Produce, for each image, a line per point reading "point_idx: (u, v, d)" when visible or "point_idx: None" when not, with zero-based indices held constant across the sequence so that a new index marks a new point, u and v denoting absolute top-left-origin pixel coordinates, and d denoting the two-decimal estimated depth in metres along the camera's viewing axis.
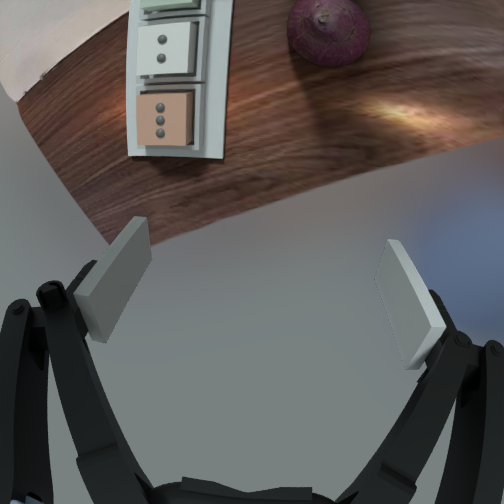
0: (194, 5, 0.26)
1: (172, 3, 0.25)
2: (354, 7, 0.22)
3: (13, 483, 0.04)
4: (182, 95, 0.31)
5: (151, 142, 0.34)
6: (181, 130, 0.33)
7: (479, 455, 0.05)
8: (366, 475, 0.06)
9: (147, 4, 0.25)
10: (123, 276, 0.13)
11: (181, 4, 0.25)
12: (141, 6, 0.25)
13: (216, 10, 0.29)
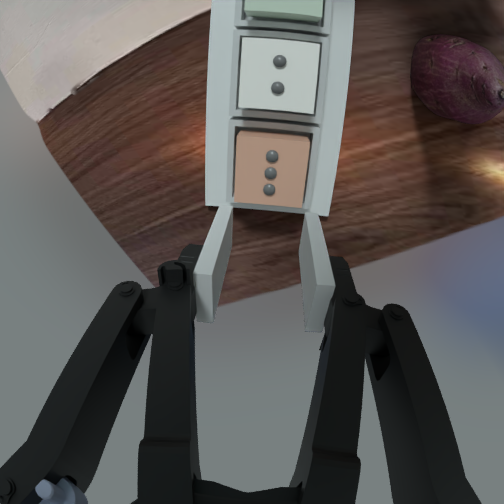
0: (317, 20, 0.20)
1: (293, 12, 0.19)
2: None
3: (53, 465, 0.05)
4: (304, 143, 0.25)
5: (255, 200, 0.29)
6: (298, 188, 0.28)
7: (417, 430, 0.07)
8: (303, 462, 0.07)
9: (255, 6, 0.19)
10: (223, 259, 0.15)
11: (303, 16, 0.20)
12: (246, 8, 0.19)
13: (333, 29, 0.23)
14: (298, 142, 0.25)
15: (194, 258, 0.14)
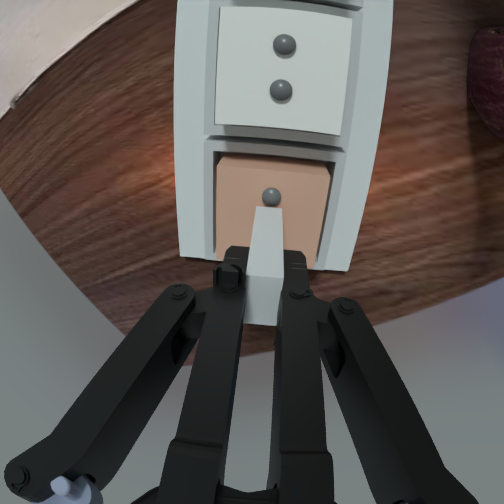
0: None
1: None
2: None
3: (74, 464, 0.05)
4: (321, 178, 0.17)
5: None
6: (310, 243, 0.19)
7: (385, 428, 0.07)
8: (274, 462, 0.07)
9: None
10: None
11: None
12: None
13: (365, 4, 0.13)
14: (312, 176, 0.17)
15: (239, 259, 0.14)
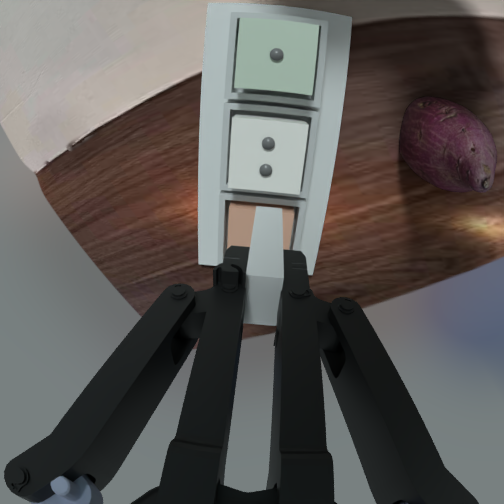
0: None
1: (283, 90, 0.22)
2: (494, 144, 0.19)
3: (74, 464, 0.05)
4: (289, 215, 0.30)
5: None
6: None
7: (385, 427, 0.07)
8: (274, 462, 0.07)
9: (245, 84, 0.22)
10: None
11: None
12: (236, 85, 0.22)
13: (324, 97, 0.26)
14: (283, 213, 0.30)
15: (239, 259, 0.14)
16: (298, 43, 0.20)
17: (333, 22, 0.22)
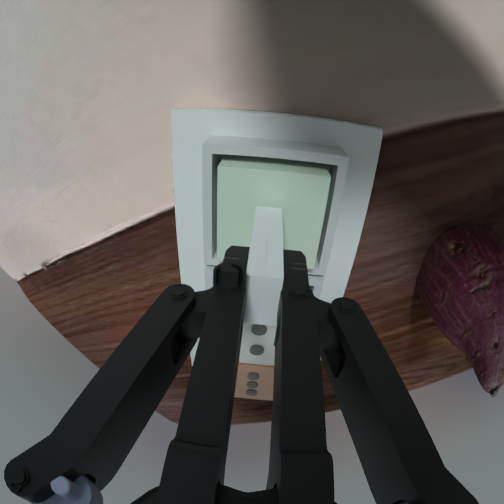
0: None
1: None
2: None
3: (74, 464, 0.05)
4: None
5: (239, 396, 0.30)
6: None
7: (385, 428, 0.07)
8: (274, 462, 0.07)
9: None
10: None
11: None
12: (219, 257, 0.20)
13: (333, 246, 0.23)
14: None
15: (239, 259, 0.14)
16: (299, 206, 0.18)
17: (355, 140, 0.18)
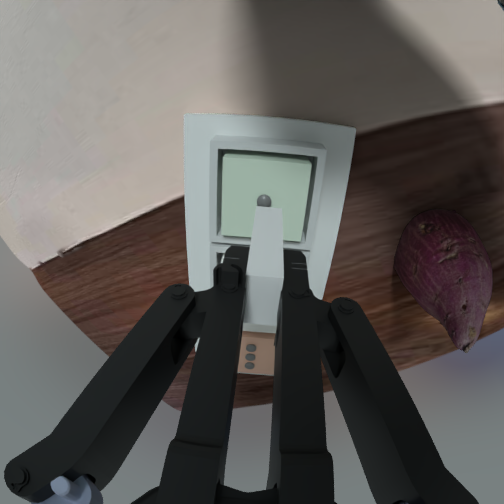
0: None
1: None
2: (491, 285, 0.20)
3: (74, 464, 0.05)
4: None
5: (238, 370, 0.34)
6: (273, 365, 0.33)
7: (385, 427, 0.07)
8: (274, 462, 0.07)
9: (232, 231, 0.24)
10: None
11: None
12: (223, 232, 0.25)
13: (318, 227, 0.27)
14: (273, 339, 0.31)
15: (239, 259, 0.14)
16: (287, 188, 0.22)
17: (333, 137, 0.23)
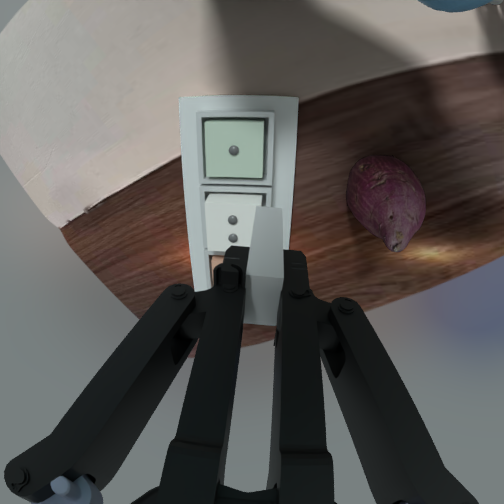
0: None
1: (241, 176, 0.34)
2: (419, 204, 0.29)
3: (74, 464, 0.05)
4: None
5: None
6: None
7: (384, 427, 0.07)
8: (274, 462, 0.07)
9: (214, 173, 0.34)
10: None
11: None
12: (207, 174, 0.34)
13: (278, 171, 0.37)
14: None
15: (239, 260, 0.14)
16: (249, 139, 0.32)
17: (282, 105, 0.32)
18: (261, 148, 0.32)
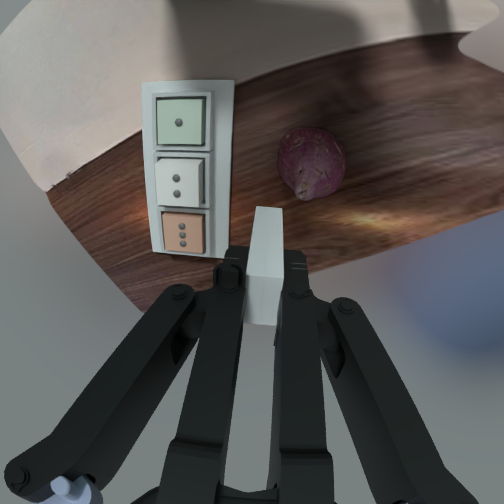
0: (202, 141, 0.42)
1: (184, 143, 0.40)
2: (331, 162, 0.36)
3: (74, 464, 0.05)
4: (198, 219, 0.47)
5: (176, 249, 0.50)
6: (198, 243, 0.49)
7: (385, 428, 0.07)
8: (274, 462, 0.07)
9: (163, 141, 0.40)
10: None
11: None
12: (159, 142, 0.40)
13: (218, 140, 0.43)
14: (195, 218, 0.47)
15: (239, 259, 0.14)
16: (190, 113, 0.38)
17: (220, 86, 0.38)
18: (200, 120, 0.38)
